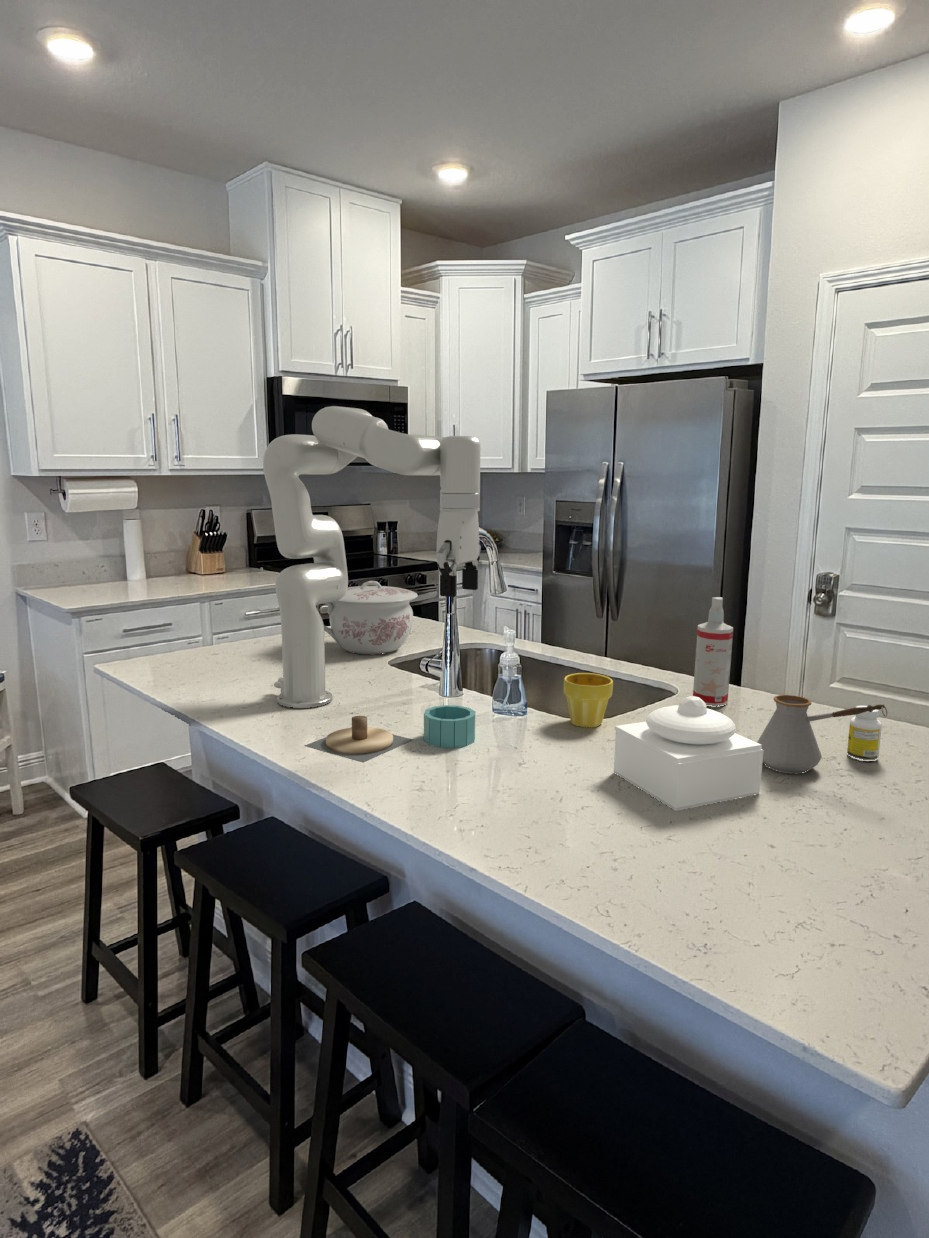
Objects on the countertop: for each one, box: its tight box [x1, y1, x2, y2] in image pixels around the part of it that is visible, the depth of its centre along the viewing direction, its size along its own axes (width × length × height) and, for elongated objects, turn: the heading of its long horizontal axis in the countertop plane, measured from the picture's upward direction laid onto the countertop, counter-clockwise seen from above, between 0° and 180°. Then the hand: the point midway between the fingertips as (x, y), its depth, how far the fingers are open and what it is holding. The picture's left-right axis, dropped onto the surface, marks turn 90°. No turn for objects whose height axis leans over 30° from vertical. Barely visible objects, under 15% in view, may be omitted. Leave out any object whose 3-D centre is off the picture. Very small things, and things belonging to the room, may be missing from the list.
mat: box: [303, 726, 414, 763], centre depth 155 cm, size 15×15×1 cm
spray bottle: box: [692, 596, 734, 706], centre depth 184 cm, size 8×8×25 cm
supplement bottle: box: [846, 705, 883, 760], centre depth 151 cm, size 5×5×10 cm
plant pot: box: [563, 672, 614, 728], centre depth 169 cm, size 10×10×10 cm
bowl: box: [423, 704, 476, 749], centre depth 157 cm, size 10×10×6 cm
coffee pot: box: [757, 694, 888, 774], centre depth 142 cm, size 21×12×15 cm, turn 49°
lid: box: [325, 715, 394, 754], centre depth 154 cm, size 13×13×5 cm
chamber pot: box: [323, 580, 419, 655], centre depth 234 cm, size 28×28×21 cm
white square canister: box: [613, 695, 764, 812], centre depth 137 cm, size 18×18×16 cm
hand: (459, 592), depth 153 cm, fingers open, 9 cm apart
